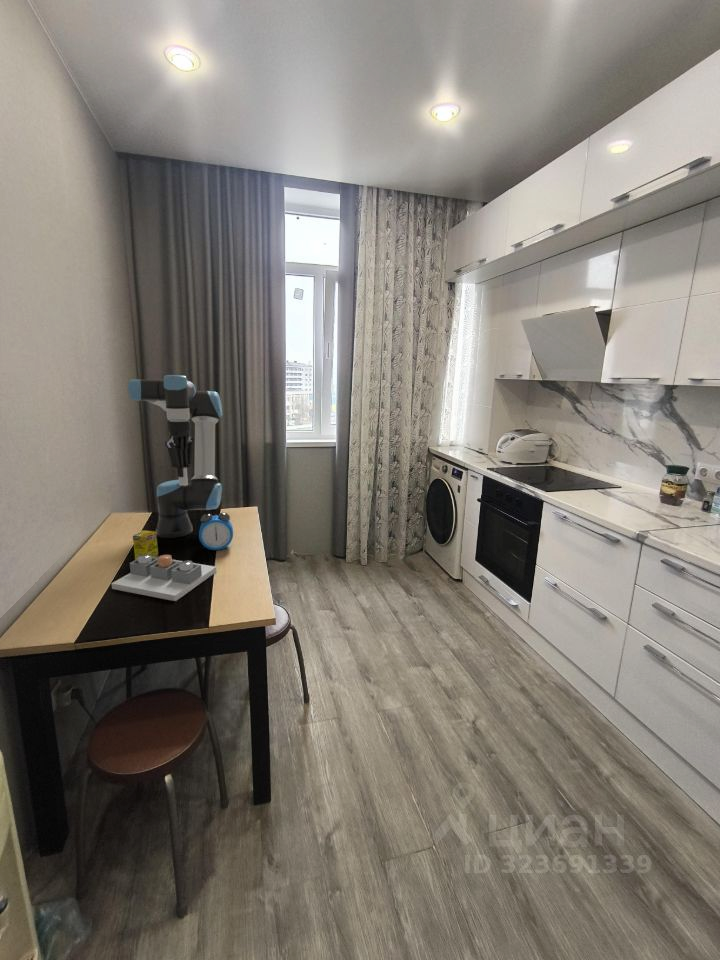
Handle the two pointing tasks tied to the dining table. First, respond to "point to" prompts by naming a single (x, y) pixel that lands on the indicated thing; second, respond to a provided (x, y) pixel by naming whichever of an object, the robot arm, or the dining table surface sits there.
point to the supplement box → (145, 543)
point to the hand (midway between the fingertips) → (183, 484)
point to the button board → (162, 579)
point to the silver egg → (185, 566)
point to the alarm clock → (216, 531)
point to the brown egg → (164, 561)
